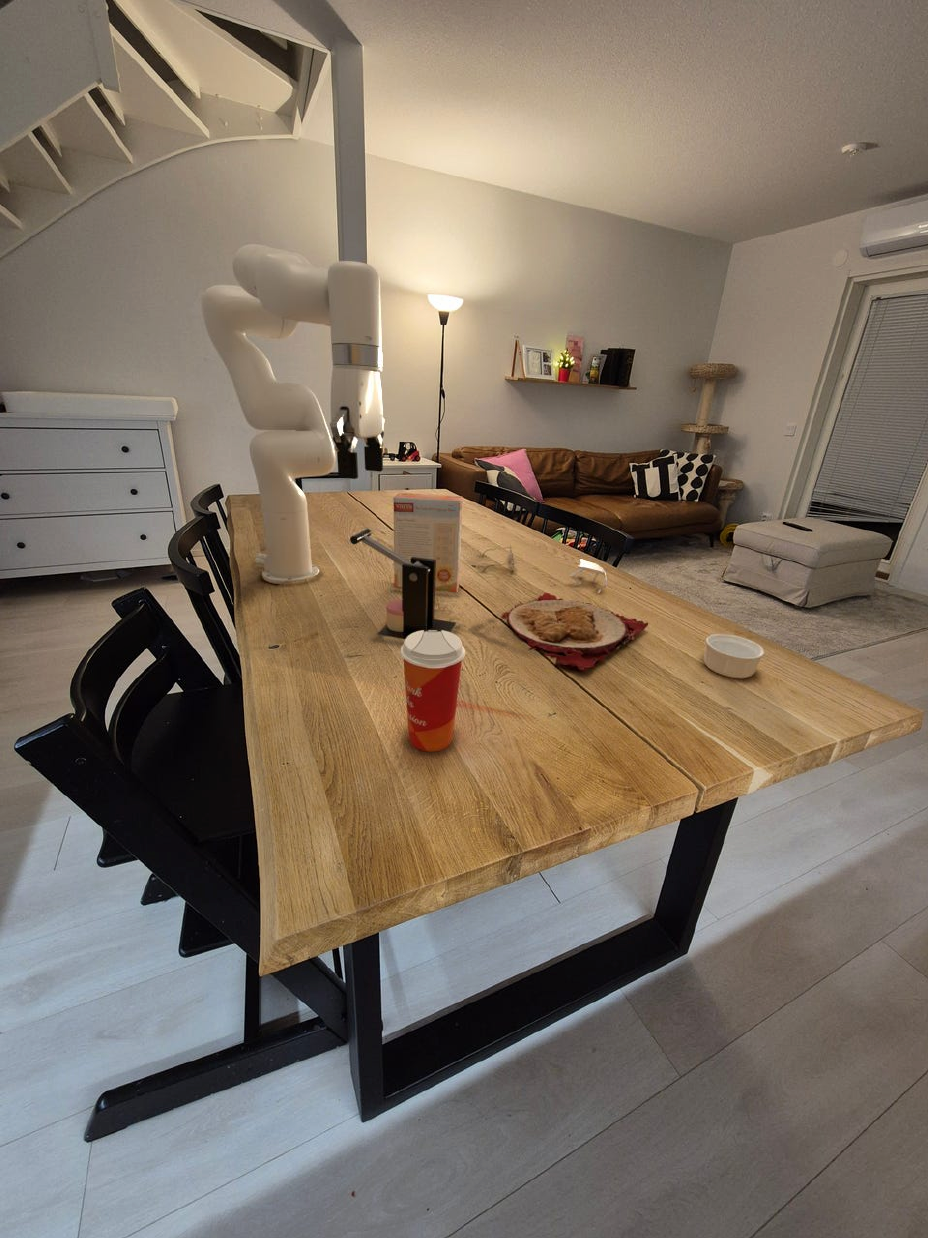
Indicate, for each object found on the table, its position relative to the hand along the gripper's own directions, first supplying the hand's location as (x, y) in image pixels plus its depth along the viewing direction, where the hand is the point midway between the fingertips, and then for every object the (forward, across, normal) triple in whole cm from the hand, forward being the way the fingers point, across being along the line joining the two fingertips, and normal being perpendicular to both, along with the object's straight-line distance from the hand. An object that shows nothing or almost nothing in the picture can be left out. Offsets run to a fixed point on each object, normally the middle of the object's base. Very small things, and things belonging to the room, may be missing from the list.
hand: (361, 474), depth 84 cm
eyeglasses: (+28, -45, +16) cm, 55 cm away
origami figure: (+28, -38, +40) cm, 62 cm away
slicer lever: (+14, +1, +5) cm, 15 cm away
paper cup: (+28, +29, +22) cm, 46 cm away
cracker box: (+28, -21, +5) cm, 35 cm away
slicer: (+28, +1, +11) cm, 30 cm away
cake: (+26, +1, +7) cm, 27 cm away
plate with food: (+28, -10, +36) cm, 46 cm away
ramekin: (+28, -6, +65) cm, 71 cm away
